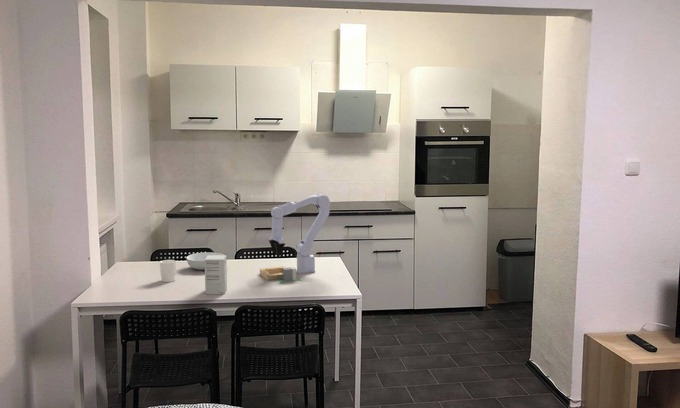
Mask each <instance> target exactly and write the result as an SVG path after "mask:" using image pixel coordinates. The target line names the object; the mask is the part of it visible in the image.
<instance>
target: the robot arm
mask: <svg viewBox="0 0 680 408" xmlns="http://www.w3.org/2000/svg"><path fill="white" fill-rule="evenodd" d="M308 205H316V206H317V208H318V212H319V213H318V214H317V216H316V218H315V219H314V221H313V222H312V225H311V226H310V227H309V229H308V231H307V233H306V234H305V236H304V237H303V238H302V239H301V241H299V242H298V243H297V244H296V246H295V249H296V251H297V254H296V273H298V274H305V273H315V272H316V269H315V268H316V260H315V256H314V255H313V254H311V252H312V247H313V245H314V241H315V239H316V238H317V236H318V234H319V232H320V231H321V229H322V227H323V225H324V224H325V223H326V220H327V219H328V217H329V215H330V212H331V211H330V206H331V201H330V199H329V197H328V196H327V195H326V194H322V193H317V194H312V195H310V196H307V197H305V198H303V199H301V200H298V201H296V202H295V201H287V202H286V203H285V204H278V206H274V207H272V209H271V211H270V215H271V235H270V237H269V238H268V239H269V240H268V242H269V244H270V246H271V252H272V254H276V256H277V257H282V253H283V249H284V248H285V246H286V243H285V242H284V239H283V218H284V216H287V215H290V214H293V213H296V211H297V209H299V208H303V207H305V206H308Z"/></svg>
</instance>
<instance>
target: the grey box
mask: <svg viewBox="0 0 680 408" xmlns="http://www.w3.org/2000/svg"><path fill="white" fill-rule="evenodd" d="M296 269H297V267H294V266H291V267H286V268H282V280H284V281H294V280H296V277H297V272H296Z"/></svg>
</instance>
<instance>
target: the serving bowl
mask: <svg viewBox="0 0 680 408" xmlns="http://www.w3.org/2000/svg"><path fill="white" fill-rule="evenodd" d="M208 255H224V254H223V253H220V252H213V251H212V252H207V251H206V252H198V253H191V254H189V255H188V256H186V257H185V258H186V263H187V265H188V266H189V267H191V268H192V269H195V270H200V271H205V259H206V257H207V256H208Z"/></svg>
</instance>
